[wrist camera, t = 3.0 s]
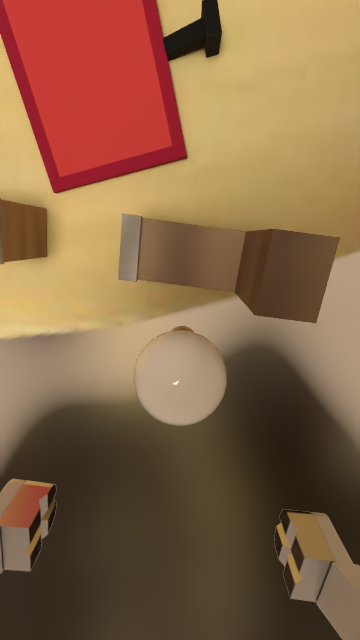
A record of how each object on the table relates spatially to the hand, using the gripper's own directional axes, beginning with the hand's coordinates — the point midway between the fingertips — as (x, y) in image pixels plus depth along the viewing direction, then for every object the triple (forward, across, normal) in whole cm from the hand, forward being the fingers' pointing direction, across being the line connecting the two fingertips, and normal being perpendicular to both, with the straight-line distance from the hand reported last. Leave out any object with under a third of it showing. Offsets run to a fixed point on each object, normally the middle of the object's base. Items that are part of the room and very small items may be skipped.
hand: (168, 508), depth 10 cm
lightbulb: (+18, 0, 0) cm, 18 cm away
